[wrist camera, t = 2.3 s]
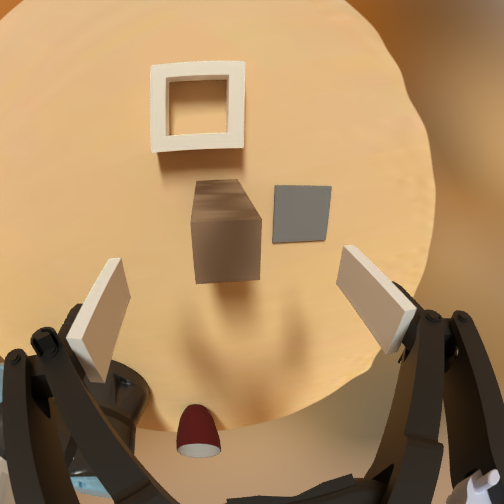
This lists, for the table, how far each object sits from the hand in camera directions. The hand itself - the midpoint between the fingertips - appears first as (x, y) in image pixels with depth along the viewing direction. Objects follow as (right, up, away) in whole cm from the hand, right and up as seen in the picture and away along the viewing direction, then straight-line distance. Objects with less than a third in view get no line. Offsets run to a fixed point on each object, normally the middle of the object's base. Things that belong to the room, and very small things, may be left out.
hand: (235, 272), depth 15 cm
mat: (+7, +6, +17) cm, 19 cm away
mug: (-10, -31, +32) cm, 46 cm away
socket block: (-5, +16, +9) cm, 19 cm away
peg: (-3, +7, +14) cm, 16 cm away
